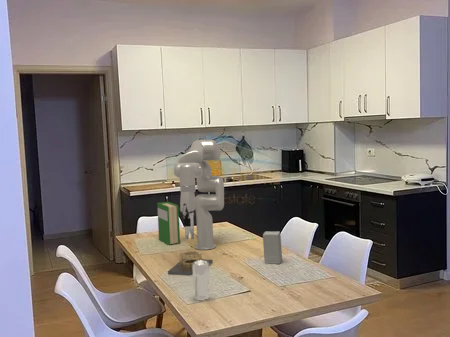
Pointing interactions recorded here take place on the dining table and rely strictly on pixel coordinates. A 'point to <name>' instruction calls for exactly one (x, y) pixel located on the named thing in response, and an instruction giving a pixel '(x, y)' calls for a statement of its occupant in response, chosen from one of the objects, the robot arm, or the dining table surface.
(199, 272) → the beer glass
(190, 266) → the collar stand
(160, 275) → the dining table surface
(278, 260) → the skincare box
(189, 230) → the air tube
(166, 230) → the hardback book
